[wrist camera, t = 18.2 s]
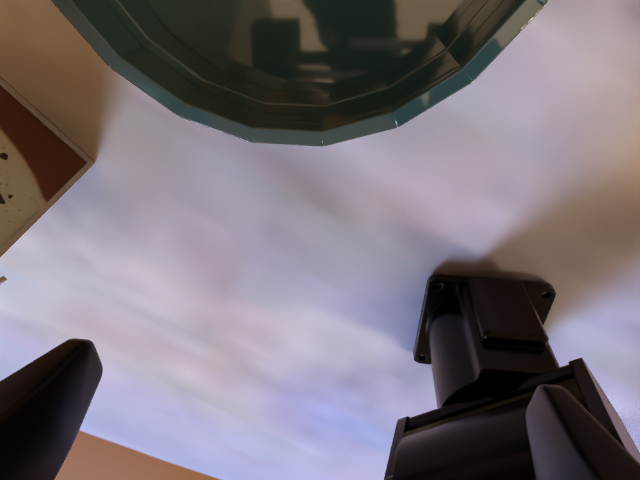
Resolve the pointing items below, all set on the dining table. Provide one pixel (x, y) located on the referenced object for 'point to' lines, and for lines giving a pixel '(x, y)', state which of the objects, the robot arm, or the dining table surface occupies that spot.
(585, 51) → the dining table surface
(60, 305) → the dining table surface
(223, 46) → the bowl
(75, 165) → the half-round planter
